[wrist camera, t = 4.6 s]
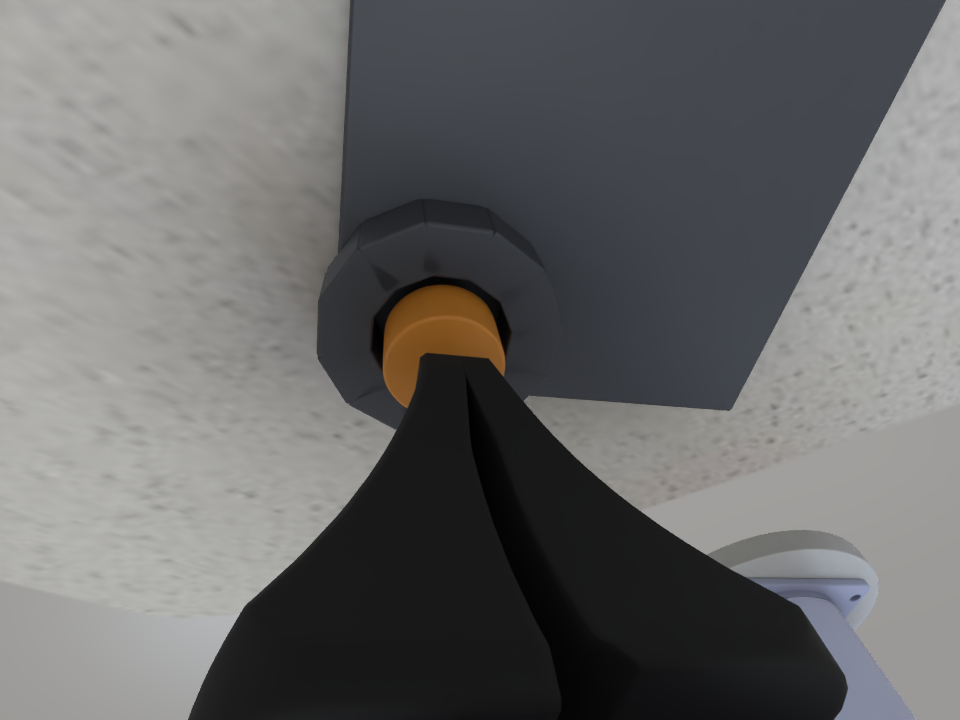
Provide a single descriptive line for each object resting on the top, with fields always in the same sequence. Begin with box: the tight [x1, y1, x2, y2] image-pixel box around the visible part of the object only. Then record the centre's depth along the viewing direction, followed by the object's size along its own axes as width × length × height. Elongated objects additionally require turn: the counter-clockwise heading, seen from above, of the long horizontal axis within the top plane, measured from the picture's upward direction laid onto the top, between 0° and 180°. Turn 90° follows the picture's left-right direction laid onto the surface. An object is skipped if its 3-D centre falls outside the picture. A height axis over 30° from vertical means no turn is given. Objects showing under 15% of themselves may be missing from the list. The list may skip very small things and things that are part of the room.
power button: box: [383, 284, 505, 408], centre depth 12 cm, size 3×3×2 cm
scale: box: [317, 0, 946, 429], centre depth 13 cm, size 12×12×3 cm
